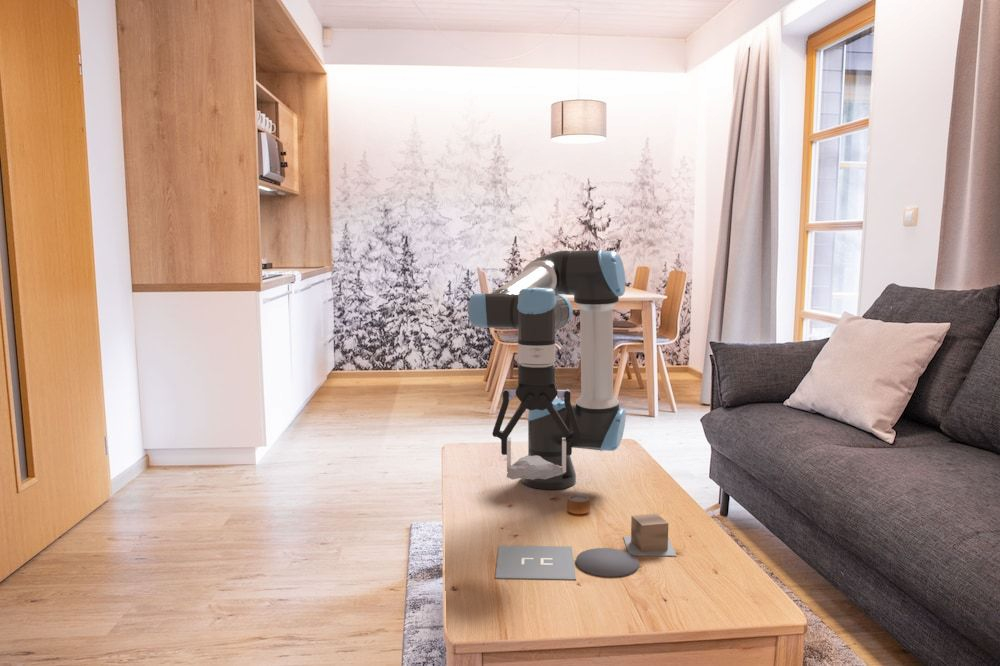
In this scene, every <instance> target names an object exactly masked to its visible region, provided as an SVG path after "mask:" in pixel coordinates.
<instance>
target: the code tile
mask: <svg viewBox="0 0 1000 666" xmlns="http://www.w3.org/2000/svg"><path fill="white" fill-rule="evenodd" d="M573 553H574V552H573V546H570V545H569V546H568V545H566V546H565V545H564V546H563V545H562V546H561V545H559V546H558V545H500V544H499V545H498V551H497V560H496V566H495V567H496V568H495V578H494V579H497V580H499V579H502V580H503V579H505V580H507V579H508V580H551V581H552V580H554V581H555V580H557V581H558V580H559V581H561V580H562V581H563V580H565V581H568V580H569V581H577V576H576V569H575V568H576V567H575V562H574V561H575V559H574V554H573Z"/></svg>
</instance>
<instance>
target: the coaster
mask: <svg viewBox="0 0 1000 666" xmlns="http://www.w3.org/2000/svg"><path fill="white" fill-rule="evenodd" d="M575 563H576V565H577V568H579V569H580V570H581V571H583V572H585V573H586V574H589V575H594V576H598V577H604V578H618V577H619V578H621V577H626V576H630V575H632V574H634V573H637V571H638V570H639V568H640V560H639V559H638V556H634V555H633V554H631V553H629V552H628V551H626V550H623V549H618V548H612V547H611V548H609V547H595V548H590V549H586V550H583V551H581V552H580V553H579V554H577V556H576V559H575Z"/></svg>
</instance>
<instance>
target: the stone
mask: <svg viewBox="0 0 1000 666" xmlns="http://www.w3.org/2000/svg"><path fill="white" fill-rule="evenodd" d="M564 473H565V472H563V471H562V466H559V465H555V464H553V463H551V462H548V461H546V460H544V459H543V458H542V457H540V456H538V455H535V456H528V455H526V456H523V457H520V458H519V459H518V460H516V461H515V462H514V463H512V464H511V466H510V467H509V469H508V472H507V473H506V474H507V475H506V478H507V479H510V480H517V479H522V478H523V479H532V480H533V479H538V478H540V479H548V478H551V477H554V476H558V475H562V474H564Z"/></svg>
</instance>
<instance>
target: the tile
mask: <svg viewBox="0 0 1000 666" xmlns="http://www.w3.org/2000/svg"><path fill="white" fill-rule="evenodd" d="M623 540H624V544H625V547H626V550H627V552H629V553H631V554H633V555H634V556H636V557H677V554H676V551H675V550H674V547H673V545H672V542H671V541H670V539H669V537H668V550H662V551H652V552H641V551H640V550H639V549H638V548H637V547H636V546H635V545H634V544H633V543H632V542H631V536H623Z"/></svg>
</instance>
